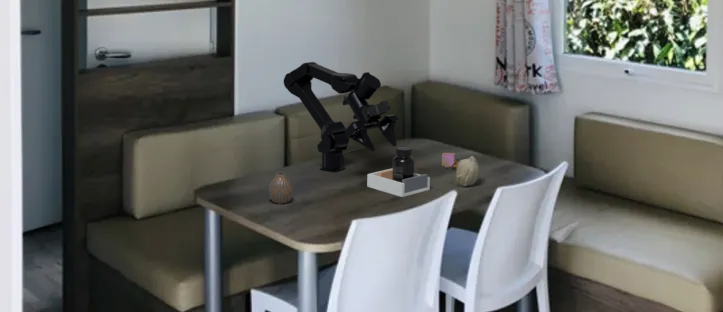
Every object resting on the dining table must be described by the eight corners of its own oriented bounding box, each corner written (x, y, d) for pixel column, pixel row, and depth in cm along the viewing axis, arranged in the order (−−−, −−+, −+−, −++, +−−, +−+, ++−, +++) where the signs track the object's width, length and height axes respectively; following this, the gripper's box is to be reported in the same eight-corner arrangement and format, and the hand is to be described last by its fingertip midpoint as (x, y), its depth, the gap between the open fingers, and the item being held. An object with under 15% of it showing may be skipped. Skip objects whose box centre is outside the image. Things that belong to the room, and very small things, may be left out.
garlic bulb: (467, 188, 308) (473, 158, 309) (484, 190, 301) (490, 159, 302) (444, 183, 303) (450, 152, 304) (461, 185, 296) (466, 153, 297)
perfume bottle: (435, 170, 323) (435, 156, 321) (443, 161, 334) (443, 148, 333) (470, 172, 319) (471, 159, 318) (477, 164, 330) (477, 151, 329)
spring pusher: (373, 182, 301) (374, 171, 300) (394, 177, 307) (394, 166, 306) (381, 184, 299) (381, 173, 298) (401, 179, 304) (401, 168, 304)
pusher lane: (367, 186, 301) (367, 171, 300) (394, 179, 309) (395, 164, 308) (402, 197, 290) (402, 180, 289) (429, 189, 298) (429, 174, 297)
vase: (279, 197, 289) (278, 169, 287) (297, 201, 285) (297, 172, 283) (264, 203, 283) (263, 174, 281) (282, 207, 280) (282, 177, 278)
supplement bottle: (418, 187, 296) (419, 149, 293) (398, 190, 293) (399, 152, 290) (407, 182, 302) (408, 145, 299) (388, 184, 299) (388, 147, 296)
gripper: (351, 96, 295) (375, 138, 290) (395, 89, 307) (419, 129, 302) (334, 117, 302) (357, 158, 297) (377, 109, 315) (401, 148, 309)
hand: (384, 148), depth 301 cm, fingers open, 9 cm apart
